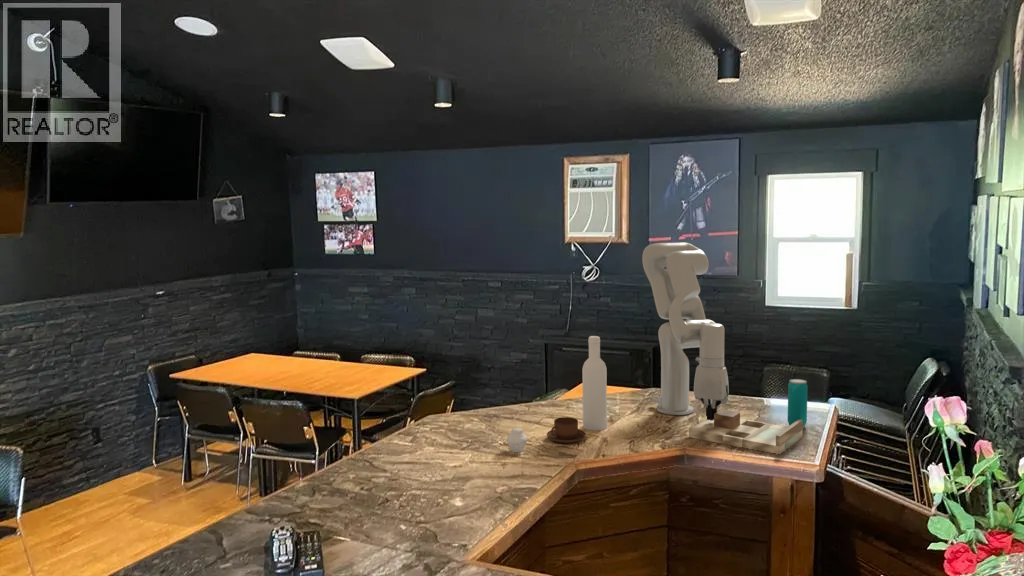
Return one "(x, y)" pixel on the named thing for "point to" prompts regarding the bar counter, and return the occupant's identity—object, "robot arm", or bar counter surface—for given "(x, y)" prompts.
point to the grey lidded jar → (516, 440)
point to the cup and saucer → (566, 431)
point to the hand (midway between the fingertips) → (711, 419)
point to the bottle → (594, 388)
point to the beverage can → (797, 401)
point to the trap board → (751, 435)
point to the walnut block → (727, 419)
